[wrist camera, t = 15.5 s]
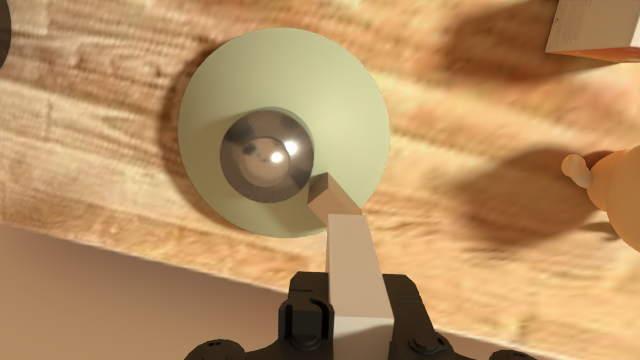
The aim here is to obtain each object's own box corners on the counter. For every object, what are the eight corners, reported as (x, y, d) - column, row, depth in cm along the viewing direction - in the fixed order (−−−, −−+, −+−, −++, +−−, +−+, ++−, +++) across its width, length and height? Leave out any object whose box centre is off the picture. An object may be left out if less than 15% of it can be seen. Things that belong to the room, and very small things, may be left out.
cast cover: (267, 204, 38) (258, 227, 33) (213, 141, 36) (194, 154, 31) (331, 156, 36) (333, 172, 31) (278, 88, 35) (270, 92, 29)
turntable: (279, 264, 42) (271, 302, 35) (142, 126, 38) (103, 140, 31) (427, 147, 38) (449, 165, 31) (293, -20, 34) (285, -42, 27)
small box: (541, 52, 36) (625, 47, 26) (560, -12, 35) (657, -43, 25) (623, 64, 37) (736, 64, 27) (645, 1, 35) (775, -25, 25)
